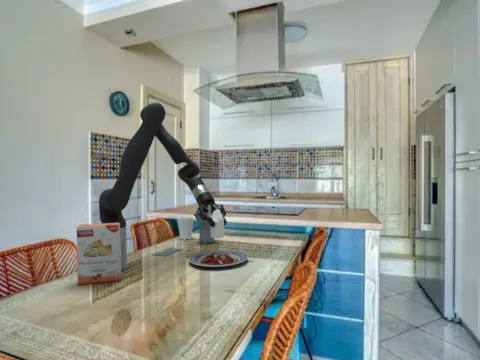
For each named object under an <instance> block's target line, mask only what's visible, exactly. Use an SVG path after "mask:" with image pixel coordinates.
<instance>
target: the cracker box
mask: <svg viewBox="0 0 480 360" xmlns="http://www.w3.org/2000/svg"><path fill="white" fill-rule="evenodd" d="M76 256H77V259H76V260H77V261H76V262H77V264H76V265H77V285H78V286H80V285H90V284H99V283H108V282H110V281H111V282H119V281H121V277H122V270H121V243H120V223H104V224H102V223H89V224H88V223H87V224H79V225H78V226H77V227H76ZM111 282H110V283H111Z"/></svg>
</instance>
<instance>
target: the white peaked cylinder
mask: <svg viewBox="0 0 480 360" xmlns="http://www.w3.org/2000/svg"><path fill="white" fill-rule="evenodd" d="M211 218H212V219H213V221H214V223H215V226H214V227H211V238H214V239H221V238H224V237H225V225H224V218H225V217H224V218H223V216H222V215H221V213H220V210H218V209H217V210H215V211H214V212H213V214H212V215H211Z"/></svg>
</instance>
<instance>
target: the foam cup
mask: <svg viewBox="0 0 480 360" xmlns="http://www.w3.org/2000/svg"><path fill="white" fill-rule="evenodd" d="M177 226H178V232H179V237H180V240H181V239H184V240H183V241H187V240H186V239H190V240H192V234H193V226H194V216H180V217H179V216H178V217H177Z"/></svg>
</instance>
